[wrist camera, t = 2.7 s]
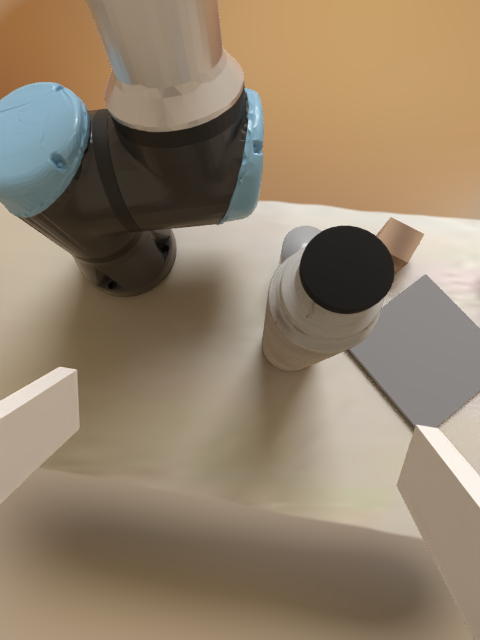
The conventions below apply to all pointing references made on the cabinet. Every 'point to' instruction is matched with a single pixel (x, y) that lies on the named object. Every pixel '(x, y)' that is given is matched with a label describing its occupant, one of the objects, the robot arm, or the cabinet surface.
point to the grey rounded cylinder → (297, 241)
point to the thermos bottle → (326, 297)
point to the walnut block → (399, 241)
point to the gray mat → (423, 354)
